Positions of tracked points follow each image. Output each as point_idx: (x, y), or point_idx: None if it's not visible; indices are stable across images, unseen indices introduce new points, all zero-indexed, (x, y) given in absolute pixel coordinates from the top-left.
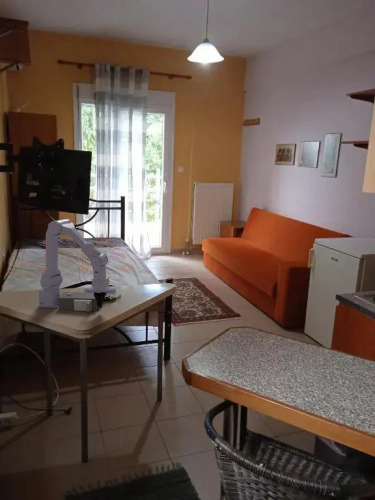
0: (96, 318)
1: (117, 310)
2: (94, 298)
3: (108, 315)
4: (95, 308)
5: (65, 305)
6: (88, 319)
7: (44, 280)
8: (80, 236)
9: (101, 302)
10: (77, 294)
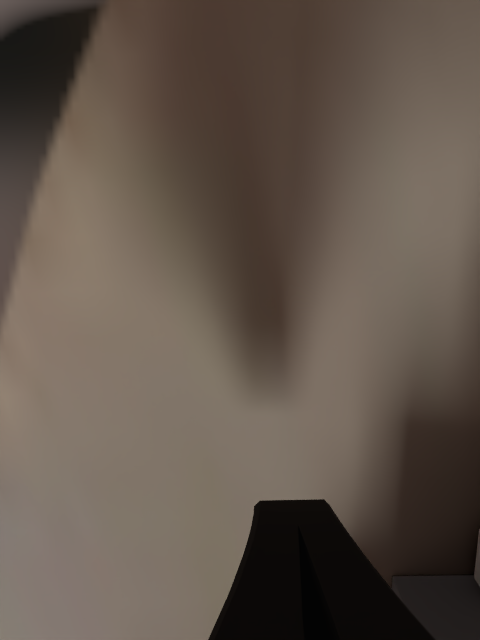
0: (301, 205)
1: (32, 606)
2: None
3: (113, 380)
4: (414, 609)
5: None
6: (454, 132)
7: None
8: None
9: (245, 621)
10: None
